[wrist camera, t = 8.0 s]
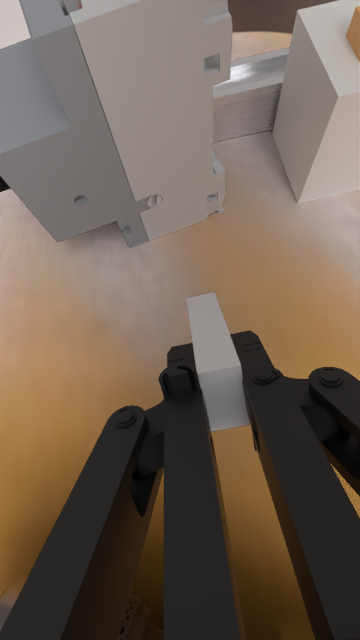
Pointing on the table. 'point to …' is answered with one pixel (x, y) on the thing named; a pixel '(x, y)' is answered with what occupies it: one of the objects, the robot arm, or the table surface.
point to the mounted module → (322, 102)
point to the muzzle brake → (137, 624)
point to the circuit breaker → (115, 114)
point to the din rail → (249, 95)
